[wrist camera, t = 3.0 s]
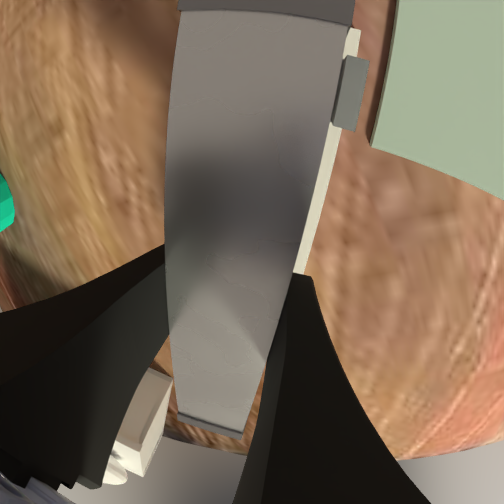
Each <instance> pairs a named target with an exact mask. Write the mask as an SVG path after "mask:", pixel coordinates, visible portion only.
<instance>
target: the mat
mask: <svg viewBox="0 0 504 504" xmlns="http://www.w3.org/2000/svg"><path fill="white" fill-rule="evenodd" d="M369 145H370V146H371V147H373V148H376V149H379V150H383V151H386V152H389V153H392V154H395V155H398V156H401V157H404V158H406V159H409V160H412V161H415V162H417V163H420V164H423V165H425V166H428V167H431V168H433V169H436V170H438V171H441V172H443V173H446V174H448V175H450V176H453V177H455V178H458V179H460V180H462V181H464V182H467V183H469V184H471V185H473V186H475V187H478V188H480V189H482V190H484V191H486V192H488V193H490V194H492V195H494V196H496V197H498V198H500V199H502V200H504V0H397V3H396V11H395V19H394V26H393V33H392V39H391V45H390V51H389V57H388V63H387V68H386V73H385V78H384V83H383V88H382V93H381V98H380V102H379V107H378V111H377V116H376V120H375V124H374V128H373V132H372V136H371V140H370V144H369Z"/></svg>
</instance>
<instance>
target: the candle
mask: <svg viewBox="0 0 504 504" xmlns="http://www.w3.org/2000/svg"><path fill="white" fill-rule="evenodd" d="M14 214H15V210H14V204H13V198H12V195H11V192H10V190H9V187H8V185H7V182H6V180H5V179H4V178H3V176H2V175H1V174H0V232H1V231H2V230H4V229H5V228H7V227H8V226H9V225H11V224H12V223H13V221H14Z"/></svg>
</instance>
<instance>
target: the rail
mask: <svg viewBox="0 0 504 504" xmlns="http://www.w3.org/2000/svg"><path fill="white" fill-rule="evenodd" d="M354 6H355V0H179V1H178V7H177V10H178V11H181V17H180V23H179V29H178V36H177V42H176V49H175V57H174V64H173V73H172V82H171V91H170V102H169V113H168V127H167V142H166V163H165V201H164V233H165V272H166V292H167V309H168V322H169V335H170V345H171V356H172V365H173V374H174V382H175V390H176V397H177V404H178V413H177V417H178V420H179V421H181V422H184V423H187V424H190V425H193V426H196V427H199V428H202V429H205V430H208V431H211V432H214V433H218V434H221V435H224V436H228V437H231V438H235V439H239V440H241V438H242V435H243V432H244V429H245V425H246V422H247V419H248V415H249V412H250V409H251V406H252V403H253V400H254V397H255V394H256V391H257V388H258V385H259V382H260V379H261V376H262V373H263V370H264V367H265V363H266V360H267V357H268V354H269V351H270V348H271V344H272V341H273V338H274V335H275V331H276V328H277V325H278V321H279V318H280V315H281V311H282V308H283V305H284V301H285V298H286V294H287V291H288V287H289V284H290V280H291V277H292V273H293V270H294V266H295V262H296V259H297V255H298V251H299V248H300V244H301V240H302V236H303V233H304V229H305V225H306V221H307V217H308V213H309V209H310V205H311V201H312V197H313V193H314V189H315V185H316V181H317V177H318V172H319V168H320V164H321V160H322V155H323V151H324V146H325V142H326V137H327V133H328V128H329V124H330V119H331V114H332V109H333V105H334V100H335V95H336V90H337V85H338V79H339V74H340V69H341V64H342V58H343V53H344V47H345V41H346V37H347V35H348V32H349V30H350V28H351V25H352V19H353V12H354Z"/></svg>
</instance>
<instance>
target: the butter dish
mask: <svg viewBox="0 0 504 504" xmlns="http://www.w3.org/2000/svg"><path fill="white" fill-rule="evenodd" d="M172 382H173V378H171V377H169V376H167V375H165V374H162V373H160V372H158V371H156V370H154V369H152V368H150V367H149V368H148V369H147V371H146V373H145V374H144V376H143V378H142V380H141V381H140V383H139V385H138V387H137V389H136V391H135V394H134V396H133V398H132V400H131V402H130V405H129V407H128V409H127V412H126V414H125V417H124V419H123V422H122V424H121V427H120V429H119V432H118V434H117V437H116V440H115V443H114V446H113V448H112V451H111V454H110V457H109V461H108V464H107V467H106V471H105V474H104V478H103V482H102V483H107V484H123V483H125V482H126V481H127V473H126V471H125V470H124V468H125V469H127V470H129V471H131V472H133V473H136V474H137V475H140V476H142V477H144V474H145V473H146V470H147V468H148V466H149V464H150V461H151V459H152V457H153V455H154V452H155V450H156V448H157V445H158V443H159V441H160V439H161V436H162V434H163V432H164V431H163V429H164V423H165V418H166V413H167V407H168V402H169V397H170V392H171V387H172Z"/></svg>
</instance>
